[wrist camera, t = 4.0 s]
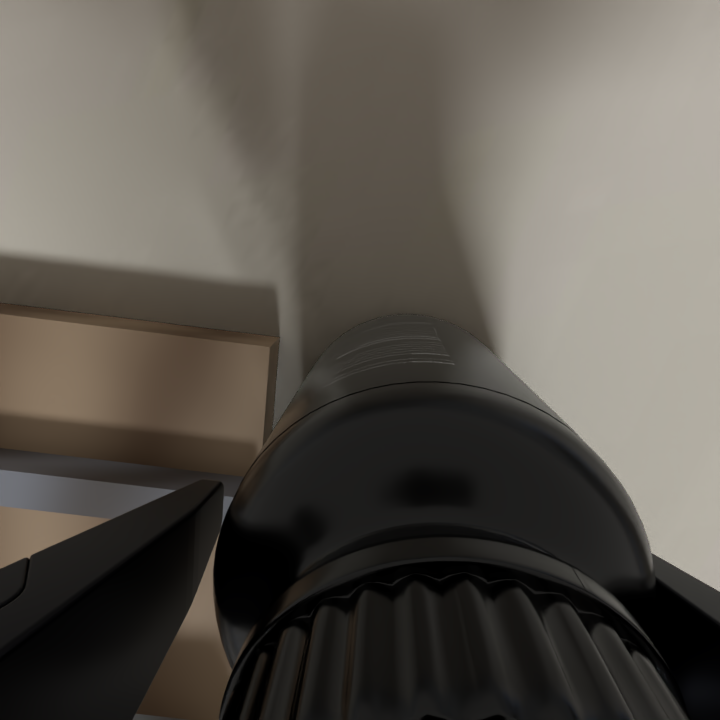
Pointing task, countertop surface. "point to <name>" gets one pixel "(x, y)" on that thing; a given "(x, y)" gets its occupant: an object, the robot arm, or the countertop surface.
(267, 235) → the countertop surface
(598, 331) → the countertop surface
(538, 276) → the countertop surface
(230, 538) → the supplement bottle
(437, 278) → the countertop surface
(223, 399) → the cleat board
